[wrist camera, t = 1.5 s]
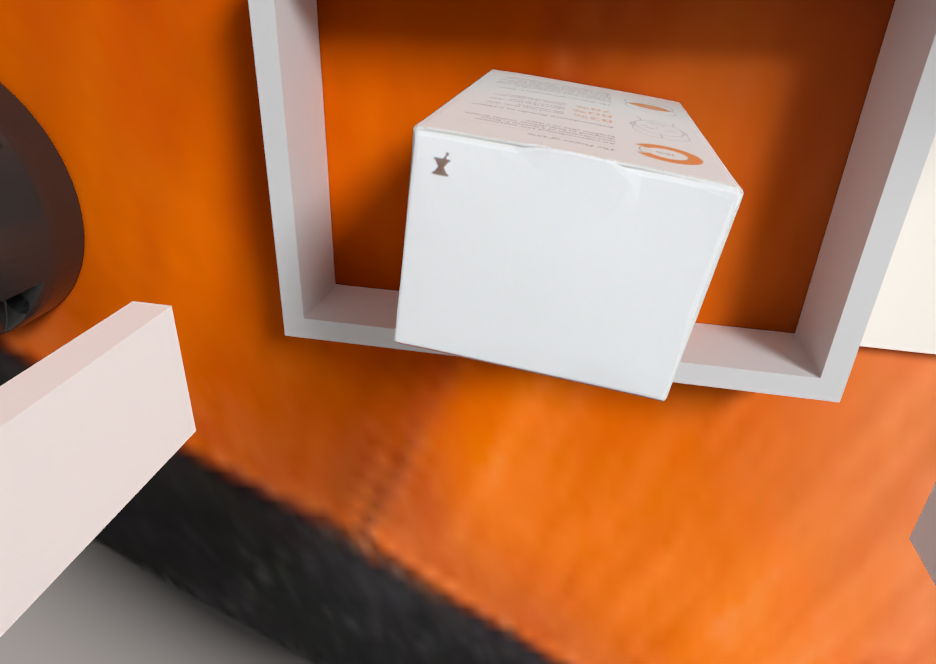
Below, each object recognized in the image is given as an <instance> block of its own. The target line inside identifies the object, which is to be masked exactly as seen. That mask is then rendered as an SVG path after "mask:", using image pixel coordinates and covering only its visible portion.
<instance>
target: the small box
mask: <svg viewBox="0 0 936 664" xmlns="http://www.w3.org/2000/svg"><path fill="white" fill-rule="evenodd" d="M743 194H744V193H743V190H742V189H741V187H740V186H739V185H738V183H737V182H736V181H735V179H734V178H733V177H732V175H731V174H730V173H729V171H728V170H727V169H726V167H725V166H724V164H723V163H722V161H721V160H720V159H719V157H718V156H717V154H716V153H715V151H714V150H713V149H712V147H711V146H710V144H709V143H708V141H707V140H706V139H705V137H704V136H703V134H702V133H701V132H700V130H699V129H698V127H697V126H696V125H695V123H694V122H693V120H692V119H691V118H690V116H689V115H688V113H687V112H686V111H685V109H684V108H683V106H682V105H681V103H680V102H676V101H671V100H666V99H661V98H656V97H650V96H645V95H640V94H634V93H629V92H623V91H618V90H612V89H607V88H601V87H596V86H590V85H584V84H579V83H573V82H567V81H561V80H556V79H550V78H544V77H539V76H533V75H527V74H521V73H515V72H508V71H501V70H495V69H493V70H490V71H489V72H488V73H487V74H485V75H484V76H483V77H481V78H480V79H478V80H477V81H476V82H474V83H473V84H472V85H470V86H469V87H468V88H466V89H465V90H464V91H462V92H461V93H459V94H458V95H457V96H455V97H454V98H453V99H451V100H450V101H448V102H447V103H446V104H444V105H443V106H442V107H440V108H439V109H437V110H436V111H435V112H433V113H432V114H431V115H429V116H428V117H427V118H425V119H424V120H423V121H421V122H419V123H418V124H417V125H415V126H414V128H413V143H412V158H411V170H410V182H409V193H408V205H407V216H406V227H405V239H404V250H403V260H402V271H401V281H400V290H399V300H398V309H397V320H396V328H395V336H394V341H395V342H397V343H399V344H404V345H408V346H413V347H417V348H422V349H427V350H431V351H436V352H441V353H445V354H450V355H454V356H459V357H463V358H468V359H472V360H477V361H481V362H486V363H491V364H495V365H500V366H505V367H510V368H515V369H519V370H523V371H527V372H532V373H537V374H541V375H546V376H550V377H555V378H559V379H564V380H569V381H574V382H579V383H583V384H587V385H592V386H597V387H601V388H606V389H610V390H615V391H619V392H624V393H628V394H632V395H637V396H642V397H646V398H651V399H656V400H659V401H665V399H666V398H667V396H668V393H669V390H670V388H671V385H672V382H673V380H674V377H675V374H676V372H677V369H678V366H679V364H680V361H681V358H682V356H683V353H684V351H685V348H686V345H687V343H688V340H689V337H690V335H691V332H692V329H693V327H694V324H695V322H696V319H697V316H698V314H699V311H700V308H701V306H702V303H703V300H704V298H705V295H706V292H707V290H708V287H709V284H710V282H711V279H712V276H713V274H714V271H715V268H716V266H717V263H718V260H719V258H720V255H721V252H722V250H723V247H724V245H725V242H726V239H727V237H728V234H729V231H730V229H731V226H732V224H733V221H734V218H735V216H736V213H737V210H738V208H739V205H740V203H741V200H742V197H743Z"/></svg>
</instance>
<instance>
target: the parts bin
mask: <svg viewBox="0 0 936 664" xmlns="http://www.w3.org/2000/svg"><path fill="white" fill-rule="evenodd" d="M248 4H249V13H250V22H251V31H252V40H253V49H254V58H255V67H256V76H257V86H258V95H259V104H260V113H261V122H262V131H263V140H264V149H265V158H266V167H267V176H268V185H269V194H270V203H271V213H272V222H273V231H274V240H275V249H276V258H277V267H278V276H279V285H280V294H281V303H282V312H283V321H284V330H285V336H294V337H302V338H310V339H318V340H327V341H335V342H343V343H352V344H360V345H368V346H377V347H385V348H393V349H401V350H410V351H418V352H426V353H435V354H443V355H450V354H445V353H441V352H436V351H431V350H427V349H422V348H417V347H413V346H408V345H404V344H399V343H397V342H395V341H394V336H395V328H396V320H397V309H398V300H399V291H395V290H386V289H377V288H367V287H358V286H349V285H339V284H335V270H334V255H333V240H332V225H331V210H330V195H329V180H328V165H327V150H326V135H325V120H324V105H323V90H322V75H321V60H320V45H319V30H318V15H317V0H248ZM935 134H936V0H895V3H894V6H893V10H892V13H891V16H890V20H889V23H888V26H887V30H886V33H885V36H884V40H883V43H882V46H881V49H880V53H879V56H878V59H877V63H876V66H875V69H874V73H873V76H872V79H871V83H870V86H869V89H868V93H867V96H866V99H865V103H864V106H863V109H862V113H861V116H860V119H859V122H858V126H857V129H856V132H855V136H854V139H853V142H852V146H851V149H850V152H849V156H848V159H847V162H846V166H845V169H844V172H843V176H842V179H841V182H840V185H839V189H838V192H837V195H836V199H835V202H834V205H833V209H832V212H831V215H830V219H829V222H828V225H827V229H826V232H825V235H824V239H823V242H822V245H821V248H820V252H819V255H818V258H817V262H816V265H815V268H814V272H813V275H812V278H811V282H810V285H809V288H808V292H807V295H806V298H805V302H804V305H803V308H802V311H801V315H800V318H799V321H798V325H797V328H796V331H795V333H787V332H778V331H768V330H759V329H750V328H740V327H731V326H722V325H712V324H703V323H695V324H694V327H693V329H692V332H691V335H690V337H689V340H688V343H687V345H686V348H685V351H684V353H683V356H682V358H681V361H680V364H679V366H678V369H677V372H676V374H675V377H674V380H673V382H675V383H684V384H692V385H700V386H708V387H717V388H725V389H733V390H742V391H750V392H758V393H767V394H775V395H783V396H791V397H800V398H808V399H816V400H825V401H833V402H840V400H841V397H842V394H843V391H844V388H845V386H846V383H847V380H848V377H849V374H850V372H851V369H852V366H853V363H854V360H855V358H856V355H857V352H858V349H859V346H860V344H861V341H862V338H863V335H864V332H865V330H866V327H867V324H868V321H869V318H870V316H871V313H872V310H873V307H874V305H875V302H876V299H877V296H878V293H879V291H880V288H881V285H882V282H883V279H884V277H885V274H886V271H887V268H888V265H889V263H890V260H891V257H892V254H893V251H894V249H895V246H896V243H897V240H898V237H899V235H900V232H901V229H902V226H903V223H904V221H905V218H906V215H907V212H908V209H909V207H910V204H911V201H912V198H913V195H914V193H915V190H916V187H917V184H918V181H919V179H920V176H921V173H922V170H923V167H924V165H925V162H926V159H927V156H928V153H929V151H930V148H931V145H932V142H933V139H934V137H935ZM451 356H454V355H451Z"/></svg>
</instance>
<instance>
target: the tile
mask: <svg viewBox="0 0 936 664" xmlns="http://www.w3.org/2000/svg"><path fill="white" fill-rule="evenodd" d="M860 346H864V347H873V348H882V349H891V350H901V351H910V352H919V353H928V354H936V134H935V137H934V139H933V142H932V145H931V148H930V151H929V153H928V156H927V159H926V162H925V165H924V167H923V170H922V173H921V176H920V179H919V181H918V184H917V187H916V190H915V193H914V195H913V198H912V201H911V204H910V207H909V209H908V212H907V215H906V218H905V221H904V223H903V226H902V229H901V232H900V235H899V237H898V240H897V243H896V246H895V249H894V251H893V254H892V257H891V260H890V263H889V265H888V268H887V271H886V274H885V277H884V279H883V282H882V285H881V288H880V291H879V293H878V296H877V299H876V302H875V305H874V307H873V310H872V313H871V316H870V318H869V321H868V324H867V327H866V330H865V332H864V335H863V338H862V341H861V344H860Z"/></svg>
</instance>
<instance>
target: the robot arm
mask: <svg viewBox="0 0 936 664" xmlns="http://www.w3.org/2000/svg"><path fill="white" fill-rule="evenodd" d="M83 252H84V229H83V221H82V214H81V210H80V205H79V201H78V198H77V194H76V191H75V189H74V186H73V183H72V180H71V178H70V176H69V173H68V171H67V169H66V167H65V165H64V163H63V161H62V159H61V157H60V155H59V153H58V151H57V150H56V148H55V146H54V145H53V143H52V142H51V140H50V138H49V137H48V135H47V134H46V133H45V131H44V130H43V128H42V127H41V126H40V124H39V123H38V122H37V120H36V119H35V118H34V117H33V115H32V114H31V113H30V112H29V111H28V110H27V108H26V107H25V106H24V105H23V104H22V103H21V102H20V101H19V100H18V99H17V98H16V97H15V96H14V95H13V94H12V93H11V92H10V91H9V90H8V89H7V88H6V87H5V86H4V85H2V84H1V83H0V335H1V334H4V333H7V332H10V331H12V330H15V329H18V328H20V327H22V326H24V325H25V324H27V323H29V322H31V321H32V320H34V319H36V318H38V317H40V316H41V315H43V314H45V313H47V312H48V311H50V310H51V309H53V308H54V307H56V306H57V305H58V304H59V303H60V302H61V301H62V300H63V299H64V298H65V297H66V296H67V295H68V294H69V292H70V291H71V289H72V287H73V286H74V284H75V282H76V280H77V277H78V275H79V272H80V268H81V265H82V259H83ZM195 431H196V428H195V423H194V418H193V413H192V408H191V403H190V398H189V393H188V388H187V382H186V377H185V372H184V367H183V362H182V357H181V352H180V347H179V342H178V336H177V331H176V326H175V321H174V316H173V311H172V306H169V305H161V304H152V303H144V302H136V301H132V302H131V303H129V304H128V305H126V306H125V307H123V308H122V309H120V310H118V311H117V312H115V313H114V314H112V315H111V316H109V317H108V318H106V319H104V320H103V321H101V322H100V323H98V324H97V325H95V326H94V327H92V328H90V329H89V330H87V331H86V332H84V333H83V334H81V335H80V336H78V337H76V338H75V339H73V340H72V341H70V342H69V343H67V344H66V345H64V346H62V347H61V348H59V349H58V350H56V351H55V352H53V353H51V354H50V355H48V356H47V357H45V358H44V359H42V360H41V361H39V362H37V363H36V364H34V365H33V366H31V367H30V368H28V369H27V370H25V371H23V372H22V373H20V374H19V375H17V376H16V377H14V378H13V379H11V380H9V381H8V382H6V383H5V384H3V385H2V386H0V637H1V636H2V635H3V634H4V633H5V632H6V631H7V630H8V629H9V628H10V627H11V625H13V623H14V622H15V621H16V620H17V619H18V618H19V617H20V616H21V615H22V614H23V613H24V612H25V611H26V610H27V609H28V608H29V607H30V605H31V604H32V603H33V602H34V601H35V600H36V599H37V598H38V597H39V596H40V595H41V594H42V593H43V592H44V591H45V590H46V589H47V587H49V585H50V584H51V583H52V582H53V581H54V580H55V579H56V578H57V577H58V576H59V575H60V574H61V573H62V572H63V571H64V569H66V567H67V566H68V565H69V564H70V563H71V562H72V561H73V560H74V559H75V558H76V557H77V556H78V555H79V554H80V553H81V552H82V551H83V550H84V549H85V547H86V546H87V545H88V544H89V543H90V542H91V541H92V540H93V539H94V538H95V537H96V536H97V535H98V534H99V533H100V532H101V531H102V530H103V528H104V527H105V526H106V525H107V524H108V523H109V522H110V521H111V520H112V519H113V518H114V517H115V516H116V515H117V514H118V513H119V512H120V511H121V509H122V508H123V507H124V506H125V505H126V504H127V503H128V502H129V501H130V500H131V499H132V498H133V497H134V496H135V495H136V494H137V493H138V492H139V490H140V489H141V488H142V487H143V486H144V485H145V484H146V483H147V482H148V481H149V480H150V479H151V478H152V477H153V476H154V475H155V474H156V473H157V471H158V470H159V469H160V468H161V467H162V466H163V465H164V464H165V463H166V462H167V461H168V460H169V459H170V458H171V457H172V456H173V455H174V454H175V452H176V451H177V450H178V449H179V448H180V447H181V446H182V445H183V444H184V443H185V442H186V441H187V440H188V439H189V438H190V437H191V436H192V435H193V433H194V432H195ZM909 539H910V540H911V542H912V544H913V546H914V548H915V549H916V551H917V553H918V555H919V557H920V558H921V560H922V562H923V564H924V566H925V567H926V569H927V571H928V573H929V575H930V576H931V578H932V580H933V582H934V583H935V585H936V483H935V485H934V487H933V489H932V491H931V493H930V496H929V498H928V500H927V502H926V504H925V506H924V508H923V510H922V513H921V515H920V517H919V519H918V521H917V523H916V525H915V527H914V530H913V532H912V534H911V536H910V538H909Z"/></svg>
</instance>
